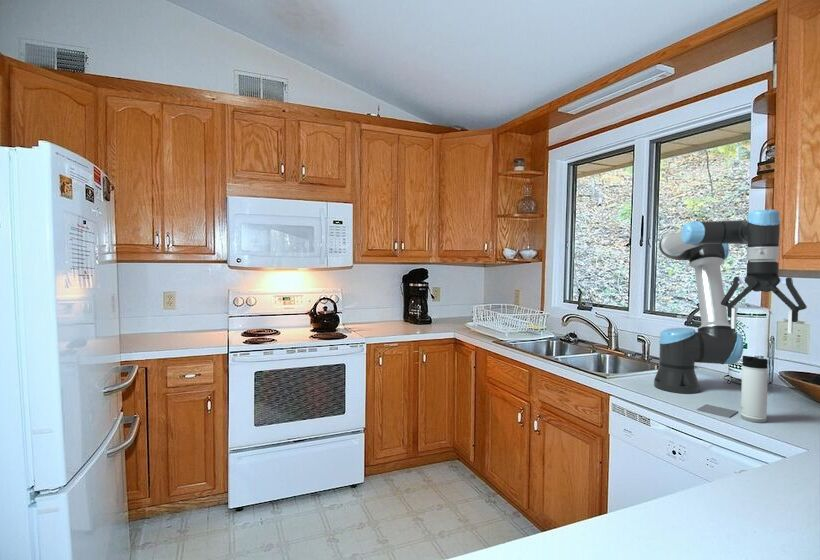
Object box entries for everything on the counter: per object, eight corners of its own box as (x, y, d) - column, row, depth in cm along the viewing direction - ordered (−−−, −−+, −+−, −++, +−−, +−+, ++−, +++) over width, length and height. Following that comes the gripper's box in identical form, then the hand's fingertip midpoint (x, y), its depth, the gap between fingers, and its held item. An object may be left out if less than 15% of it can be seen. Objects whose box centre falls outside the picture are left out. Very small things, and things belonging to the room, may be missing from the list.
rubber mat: (706, 405, 148) (706, 404, 148) (737, 412, 141) (737, 411, 141) (697, 410, 143) (697, 409, 143) (729, 417, 136) (729, 416, 136)
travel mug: (735, 417, 136) (736, 354, 136) (749, 414, 139) (750, 353, 138) (757, 424, 131) (758, 358, 130) (771, 421, 133) (772, 356, 132)
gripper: (710, 261, 139) (709, 327, 139) (816, 260, 120) (814, 336, 121) (717, 261, 144) (715, 325, 144) (820, 260, 125) (818, 334, 126)
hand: (760, 330), depth 132 cm, fingers open, 13 cm apart
